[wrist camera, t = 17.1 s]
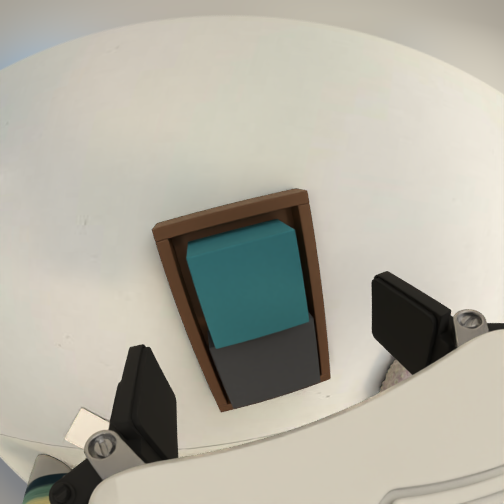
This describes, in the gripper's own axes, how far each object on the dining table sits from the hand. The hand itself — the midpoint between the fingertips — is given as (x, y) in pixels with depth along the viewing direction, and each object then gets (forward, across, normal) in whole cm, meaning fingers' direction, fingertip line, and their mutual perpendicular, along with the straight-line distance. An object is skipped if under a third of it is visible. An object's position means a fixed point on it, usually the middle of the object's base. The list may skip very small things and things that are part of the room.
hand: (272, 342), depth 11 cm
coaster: (+10, +19, +16) cm, 26 cm away
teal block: (+9, 0, 0) cm, 9 cm away
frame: (+9, 0, +4) cm, 10 cm away
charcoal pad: (+9, 0, +7) cm, 12 cm away
